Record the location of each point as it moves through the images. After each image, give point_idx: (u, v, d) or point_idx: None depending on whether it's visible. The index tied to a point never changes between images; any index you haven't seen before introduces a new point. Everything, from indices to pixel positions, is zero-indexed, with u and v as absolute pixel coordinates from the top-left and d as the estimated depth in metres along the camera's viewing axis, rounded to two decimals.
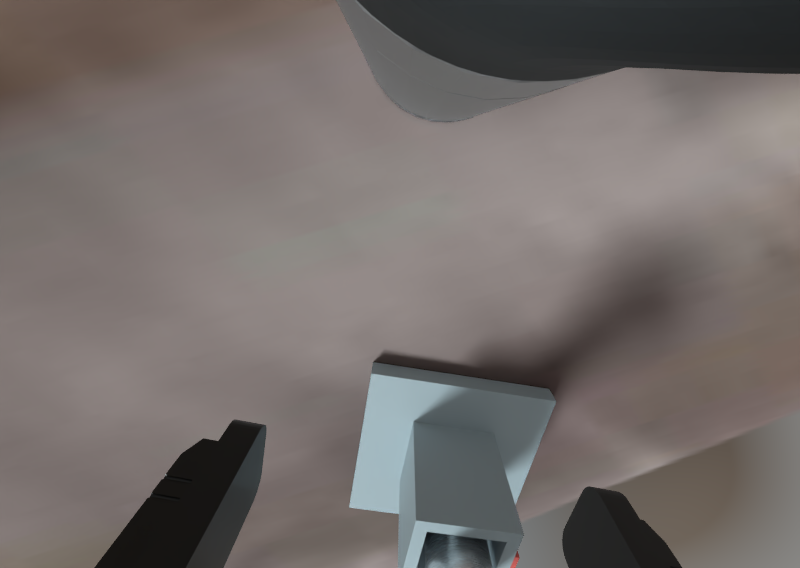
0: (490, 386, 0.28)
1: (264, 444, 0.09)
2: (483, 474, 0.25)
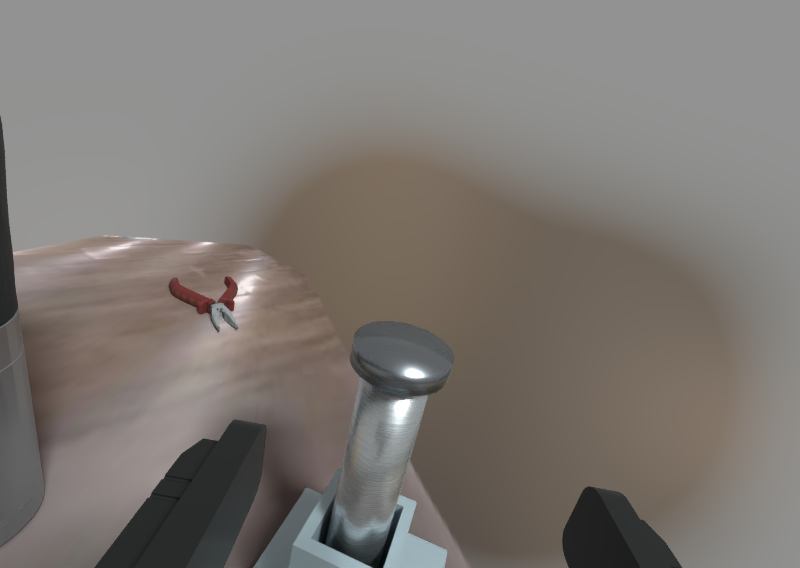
0: None
1: (264, 444, 0.09)
2: None
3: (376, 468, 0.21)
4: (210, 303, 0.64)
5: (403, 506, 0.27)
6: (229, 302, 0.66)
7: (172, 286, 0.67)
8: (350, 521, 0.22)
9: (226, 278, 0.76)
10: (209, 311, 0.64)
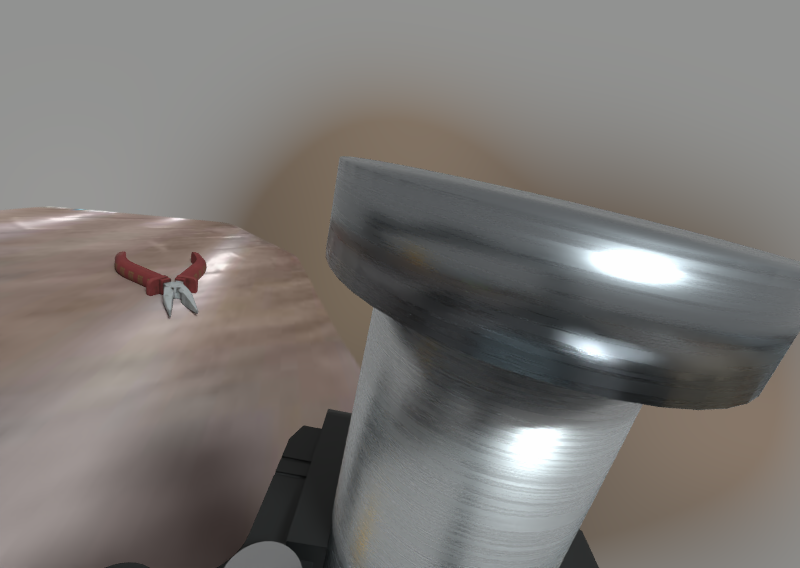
0: None
1: None
2: None
3: None
4: (163, 281, 0.48)
5: None
6: (190, 280, 0.50)
7: (117, 261, 0.51)
8: None
9: (192, 254, 0.60)
10: (162, 292, 0.48)
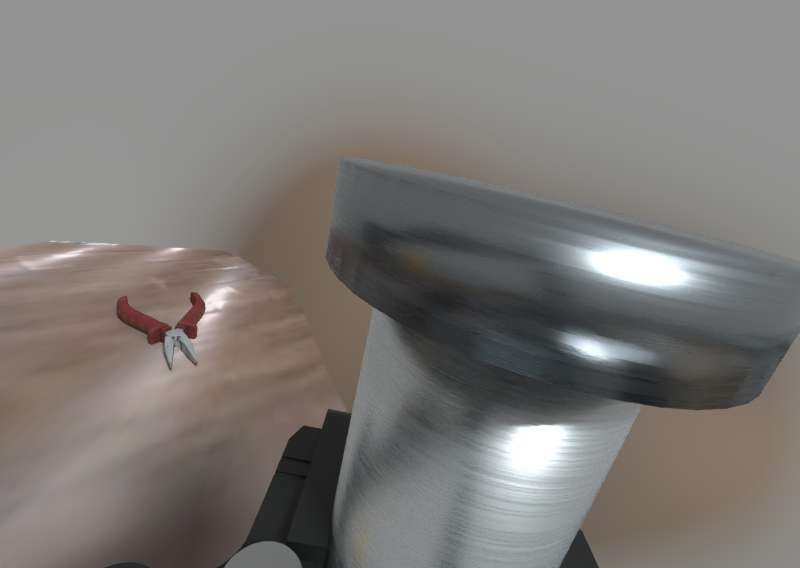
0: None
1: None
2: None
3: None
4: (164, 330, 0.50)
5: None
6: (190, 327, 0.52)
7: (119, 308, 0.53)
8: None
9: (192, 294, 0.62)
10: (163, 340, 0.50)
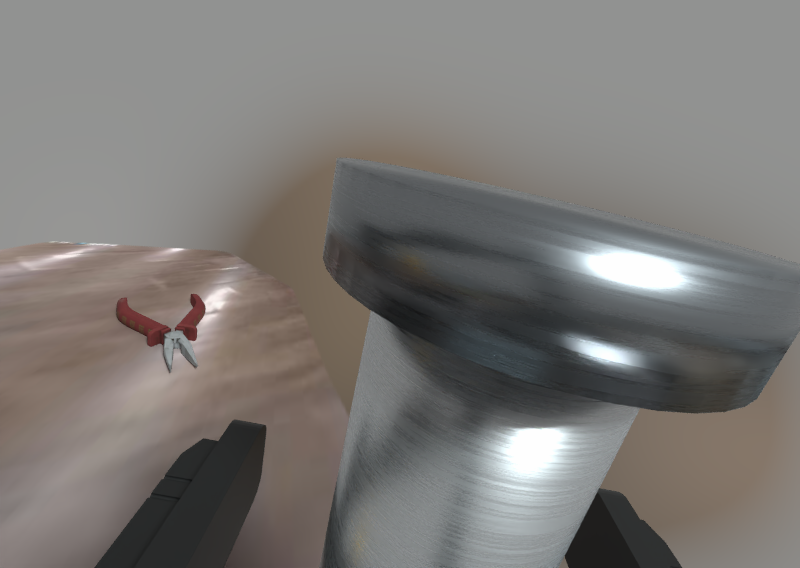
0: None
1: (264, 444, 0.09)
2: None
3: None
4: (164, 332, 0.50)
5: None
6: (190, 329, 0.52)
7: (118, 309, 0.53)
8: None
9: (192, 296, 0.61)
10: (163, 342, 0.50)
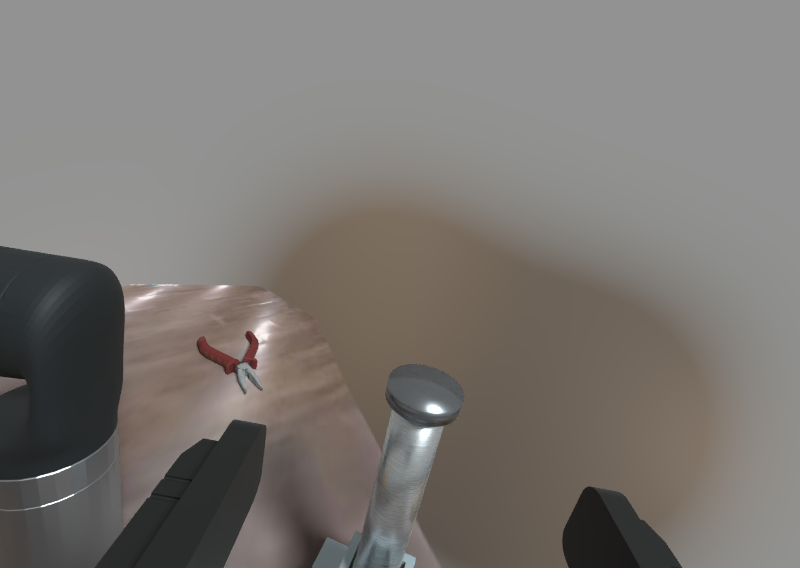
0: None
1: (264, 444, 0.09)
2: None
3: (405, 479, 0.27)
4: (236, 364, 0.71)
5: (405, 562, 0.35)
6: (253, 361, 0.73)
7: (201, 346, 0.74)
8: (384, 520, 0.29)
9: (247, 333, 0.83)
10: (235, 371, 0.71)
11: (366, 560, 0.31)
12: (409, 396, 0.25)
